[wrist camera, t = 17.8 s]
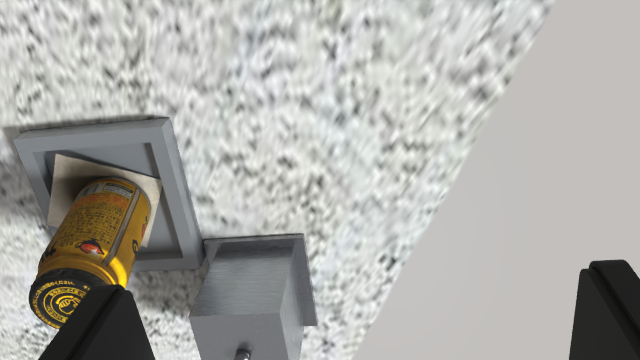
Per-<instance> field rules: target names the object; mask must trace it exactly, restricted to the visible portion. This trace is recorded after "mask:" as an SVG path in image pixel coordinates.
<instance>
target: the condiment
mask: <svg viewBox="0 0 640 360" xmlns="http://www.w3.org/2000/svg"><path fill="white" fill-rule="evenodd" d="M162 186H163V184H162V181H161V180H159V179H156V178H152V177H148V176H145V175H141V174H136V173H133V172H130V171H126V170H121V169H118V168H112V167H109V166H102V165H98V164H96V163H92V162H88V161H84V160H80V159H75V158H70V157H66V156H62V155H59V154H56V156H55V166H54V174H53V184H52V190H51V198H50V205H49V213H48V219H47V225H50V226H54V227H57V228H58V230H57V231H56V233H55V235H54V236H53V238H52V240H51V241H50V243H49V245H48V246H47V248H46V250H45V252H44V253H43V255H42V257H41V259H40V262H39V265H38V274H37V276H36V280H35V281H34V283H33V284H32V285H31V290H30V292H29V304H30V308H31V310H32V311H33V312H34V313H35V315H36V316H37V317H38V318H39V319H40V320H42V321H43V322H44V323H46V324H48V325H50V326H51V327H53V328H56V329H59V330H60V329H61V327H62V326H63V324H64V323H65V322H66V320H67V319H68V318H69V316H70V315H71V313H72V312H73V311H74V309H75V308H76V307H77V305H78V304H79V302H80V301H81V300H82V298H83V297H84V296H85V294H86V293H87V291H88V290H89V289H90V288H91V287H92V286H94V285H107V284H120V285H122V286H123V287H124V289H125V287H126V285H127V283H128V279H129V277H130V274H131V271H132V268H133V265H134V262H135V259H136V257H137V254H138V250H139V249H140V246H144V247H146V248H147V246H148V242H149V238H150V234H151V230H152V226H153V222H154V218H155V214H156V210H157V206H158V202H159V198H160V194H161V190H162Z"/></svg>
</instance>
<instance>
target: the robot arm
mask: <svg viewBox="0 0 640 360" xmlns="http://www.w3.org/2000/svg"><path fill="white" fill-rule="evenodd" d="M38 360H155V357H154V355H153V352H152V349H151V346H150V343H149V340H148V338H147V335H146V332H145V329H144V326H143V323H142V320H141V318H140V315H139V312H138V309H137V306H136V303H135V301H134V298H133V295H132V293H131V292H130V291H128V290H125V289H124V287H123V286H122V285H120V284H107V285H94V286H92V287H91V288H90V289H89V290H88V291H87V293H86V294H85V296H84V297H83V298H82V300H81V301H80V302H79V304H78V305H77V307H76V308H75V309H74V311H73V312H72V313H71V315H70V316H69V318H68V319H67V320H66V322H65V323H64V324H63V326H62V327H61V329H60V330H59V331H58V333H57V334H56V335H55V337H54V338H53V340H52V341H51V342H50V344H49V345H48V347H47V348H46V349H45V351H44V352H43V353H42V355H41V356H40V358H39V359H38ZM569 360H640V279H639V278H638V276H637V275H636V273H635V272H634V271H633V269H632V268H631V266H630V265H629V264H628V263H627V262H626V261H625V260H605V261H604V260H603V261H592V262H591V263H590V265H589V269H582V270H581V272H580V275H579V285H578V292H577V300H576V308H575V315H574V324H573V331H572V340H571V347H570V356H569Z"/></svg>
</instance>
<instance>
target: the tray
mask: <svg viewBox="0 0 640 360" xmlns="http://www.w3.org/2000/svg"><path fill="white" fill-rule="evenodd" d="M13 141H14V144H15V146H16V149H17V151H18V154H19V156H20V158H21V161H22V163H23V166H24V168H25V171H26V173H27V175H28V178H29V180H30V183H31V185H32V188H33V190H34V192H35V195H36V197H37V200H38V202H39V205H40V207H41V209H42V212H43V214H44V217H45V219H46V222H47V219H48V213H49V205H50V198H51V190H52V184H53V174H54V166H55V156H56V154H59V155H62V156H66V157H70V158H75V159H80V160H84V161H88V162H92V163H96V164H98V165H102V166H109V167H112V168H118V169H121V170H126V171H130V172H133V173H136V174H141V175H145V176H148V177H152V178H156V179H159V180H161V181H162V184H163V186H162V190H161V194H160V198H159V202H158V206H157V210H156V214H155V218H154V222H153V226H152V230H151V234H150V238H149V242H148V246H147V248H146V247H144V246H140V249H139V250H138V254H137V257H136V259H135V262H134V265H133V268H132V271H131V272H146V271H165V270H185V269H200V267H201V265H202V263H203V261H204V259H205V257H206V253H205V250H204V246H203V242H202V238H201V234H200V230H199V227H198V223H197V219H196V215H195V211H194V208H193V204H192V200H191V196H190V192H189V188H188V185H187V181H186V177H185V173H184V169H183V166H182V162H181V158H180V154H179V150H178V146H177V143H176V139H175V135H174V131H173V127H172V124H171V120H170V118H160V119H149V120H138V121H126V122H115V123H104V124H92V125H81V126H70V127H59V128H47V129H36V130H27V131H25V132H24V133H22V134H21V135H19V136H18V137H16V138H15V139H13ZM48 226H49V229H50V231H51V234H52V236H54V235H55V233H56V231H57V230H58V228H57V227H54V226H50V225H48Z"/></svg>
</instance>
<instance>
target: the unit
mask: <svg viewBox="0 0 640 360" xmlns="http://www.w3.org/2000/svg"><path fill="white" fill-rule="evenodd" d="M203 244H204V248H205V252H206V255H207V259H208V263H209V267H210V268H209V271H208V273H207V275H206V278H205V280H204V282H203V285H202V287H201V289H200V291H199V294H198V296H197V298H196V301H195V303H194V305H193V308H192V310H191V312H190V314H189V320H190V323H191V327H192V330H193V333H194V337H195V340H196V343H197V347H198V350H199V353H200V357H201V360H299V358H300V352H301V345H302V338H303V332H304V326H317V324H318V320H317V313H316V307H315V300H314V294H313V288H312V281H311V275H310V269H309V262H308V256H307V250H306V243H305V237H304V234H294V235H277V236H260V237H243V238H226V239H208V240H205V241H204V243H203Z"/></svg>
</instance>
